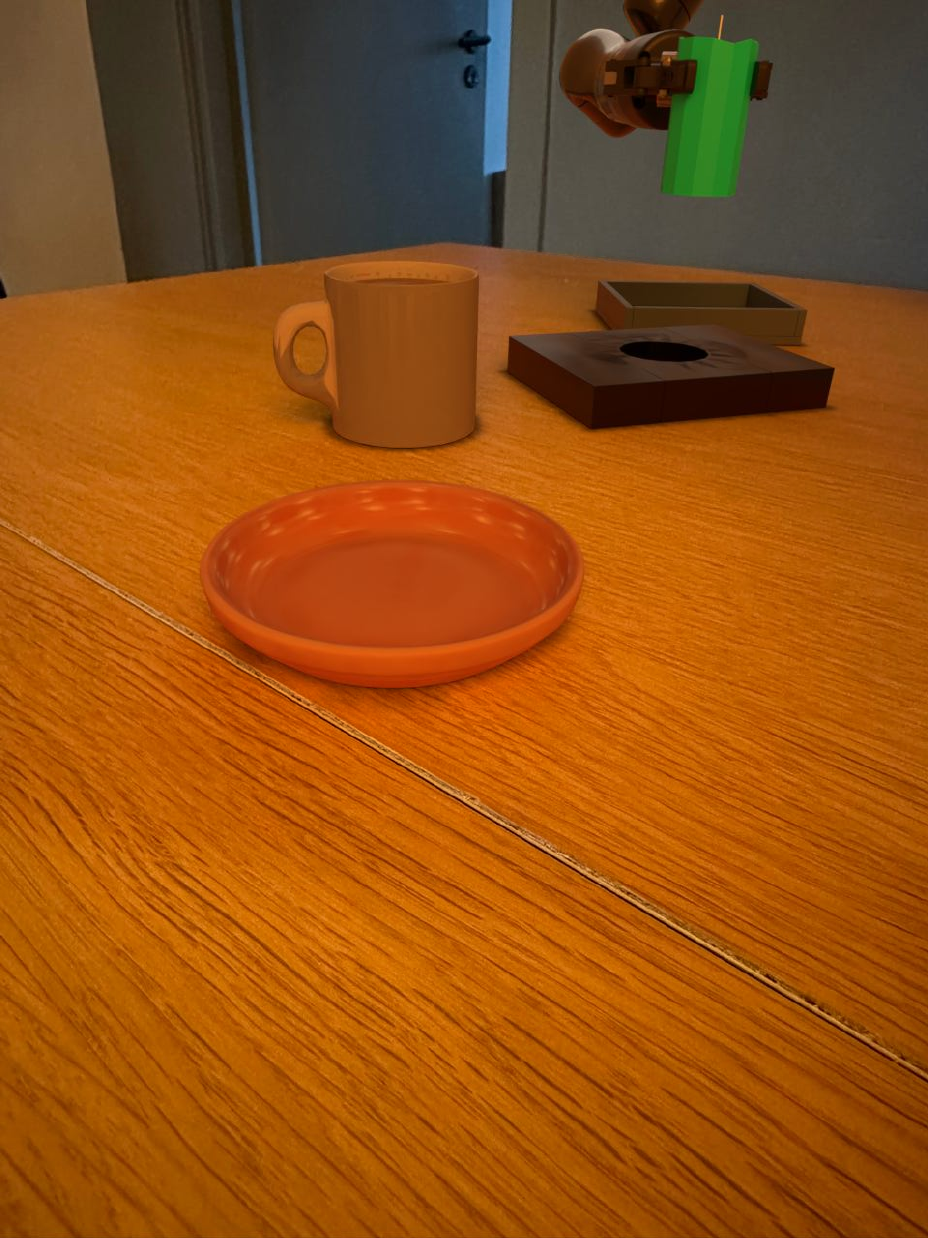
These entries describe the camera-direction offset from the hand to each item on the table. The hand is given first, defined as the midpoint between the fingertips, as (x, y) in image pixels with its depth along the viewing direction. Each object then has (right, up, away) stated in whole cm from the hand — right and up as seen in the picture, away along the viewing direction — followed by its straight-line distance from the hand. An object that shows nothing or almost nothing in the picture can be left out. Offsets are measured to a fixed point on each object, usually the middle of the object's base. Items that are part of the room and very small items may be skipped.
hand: (726, 77), depth 65 cm
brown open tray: (+4, -10, +26) cm, 29 cm away
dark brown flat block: (-4, -22, +5) cm, 23 cm away
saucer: (-23, -40, -26) cm, 53 cm away
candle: (-1, -6, +6) cm, 9 cm away
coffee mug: (-26, -27, -4) cm, 37 cm away
